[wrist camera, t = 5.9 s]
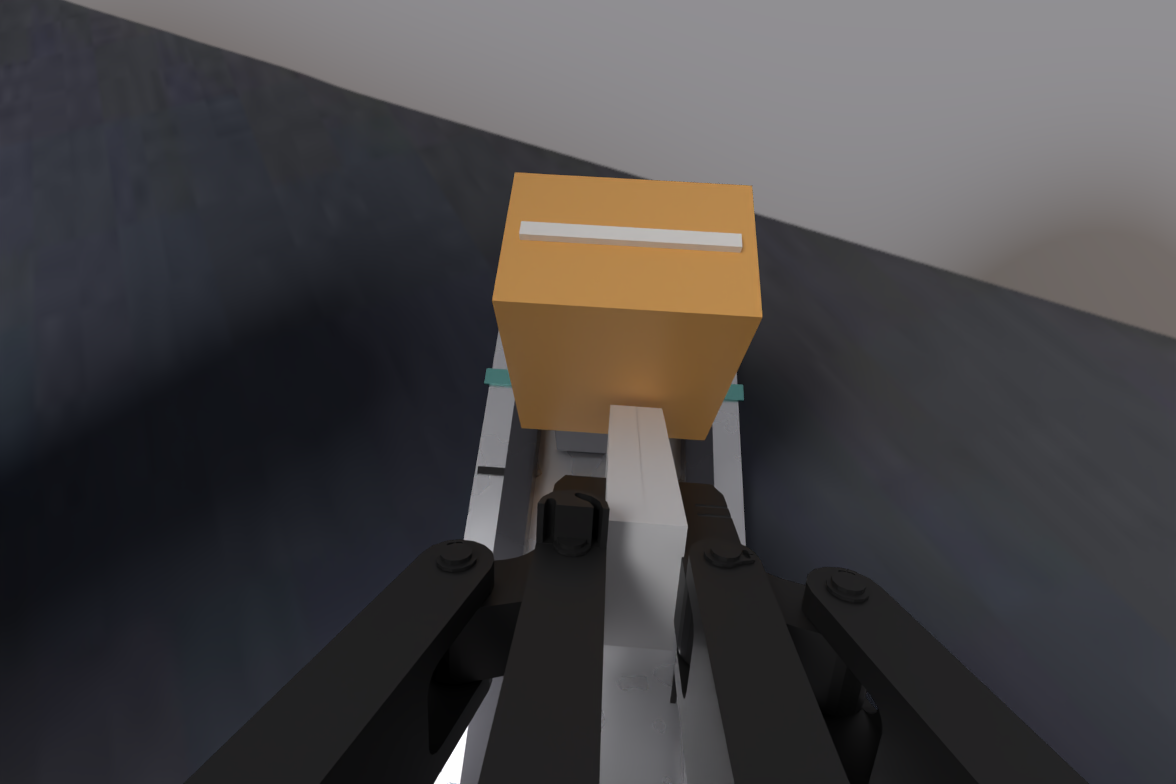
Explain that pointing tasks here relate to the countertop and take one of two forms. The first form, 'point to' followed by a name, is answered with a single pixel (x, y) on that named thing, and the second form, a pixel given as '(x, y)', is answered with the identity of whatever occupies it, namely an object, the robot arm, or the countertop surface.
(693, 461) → the fader strip
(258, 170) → the countertop surface
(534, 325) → the fader knob
